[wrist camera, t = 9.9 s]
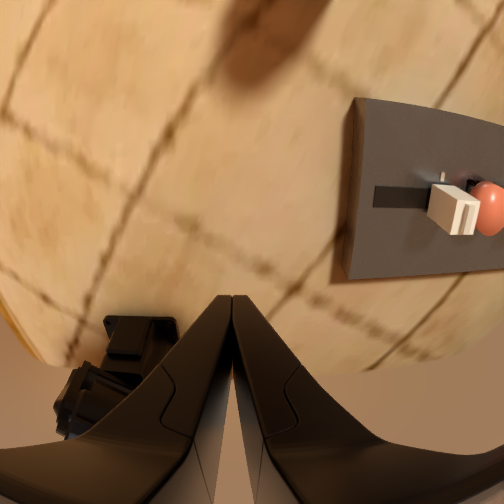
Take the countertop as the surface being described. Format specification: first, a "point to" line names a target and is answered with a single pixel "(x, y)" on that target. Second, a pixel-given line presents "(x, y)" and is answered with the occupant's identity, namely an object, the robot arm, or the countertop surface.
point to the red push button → (488, 206)
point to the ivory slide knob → (453, 209)
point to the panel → (416, 190)
